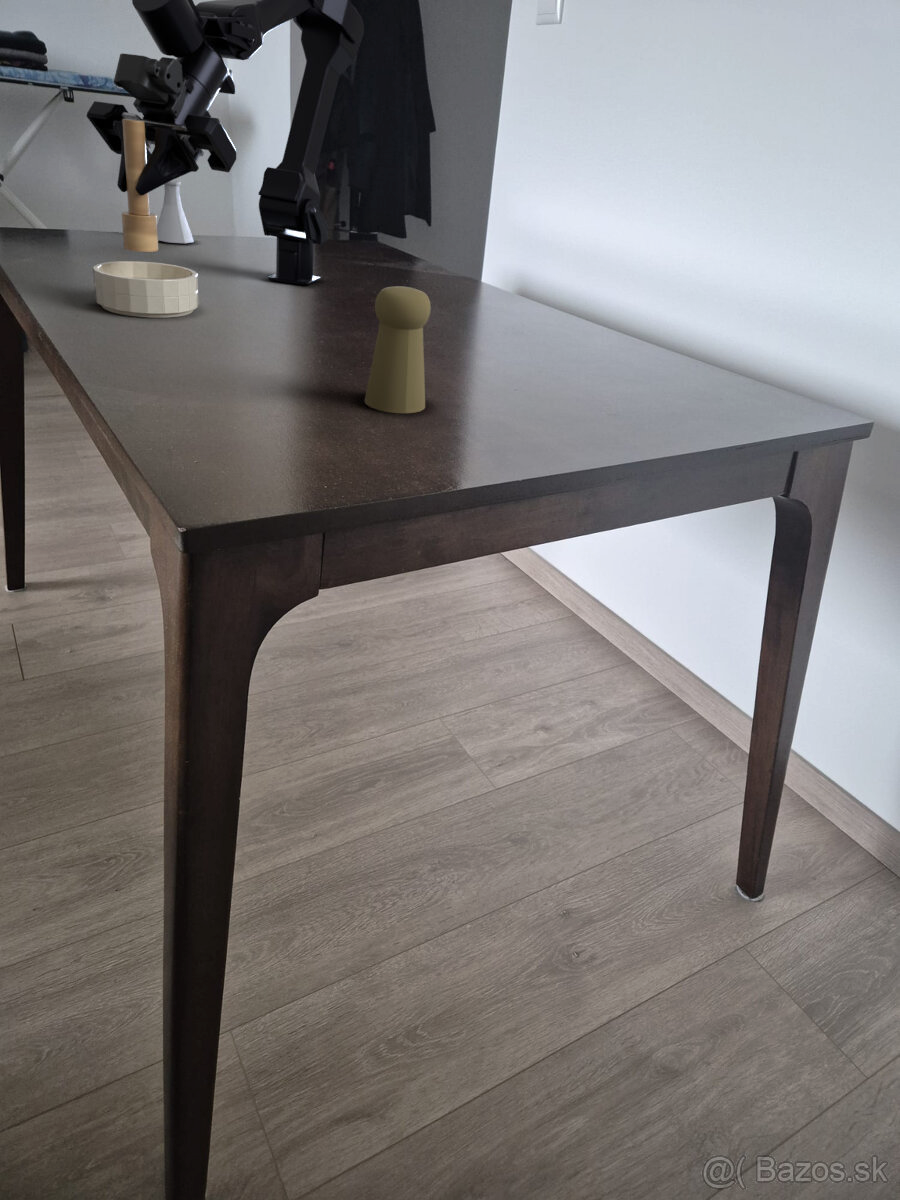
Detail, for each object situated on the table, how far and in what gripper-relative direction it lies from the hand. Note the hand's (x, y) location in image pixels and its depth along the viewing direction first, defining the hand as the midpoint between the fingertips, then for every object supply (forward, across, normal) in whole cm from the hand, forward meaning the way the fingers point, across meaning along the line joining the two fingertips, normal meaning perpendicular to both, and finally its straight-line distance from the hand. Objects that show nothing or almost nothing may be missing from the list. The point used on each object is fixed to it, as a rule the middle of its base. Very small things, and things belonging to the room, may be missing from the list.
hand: (129, 190), depth 103 cm
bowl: (+9, +1, +10) cm, 14 cm away
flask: (-23, -34, +42) cm, 59 cm away
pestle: (+4, 0, +6) cm, 7 cm away
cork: (+17, +43, +2) cm, 47 cm away
